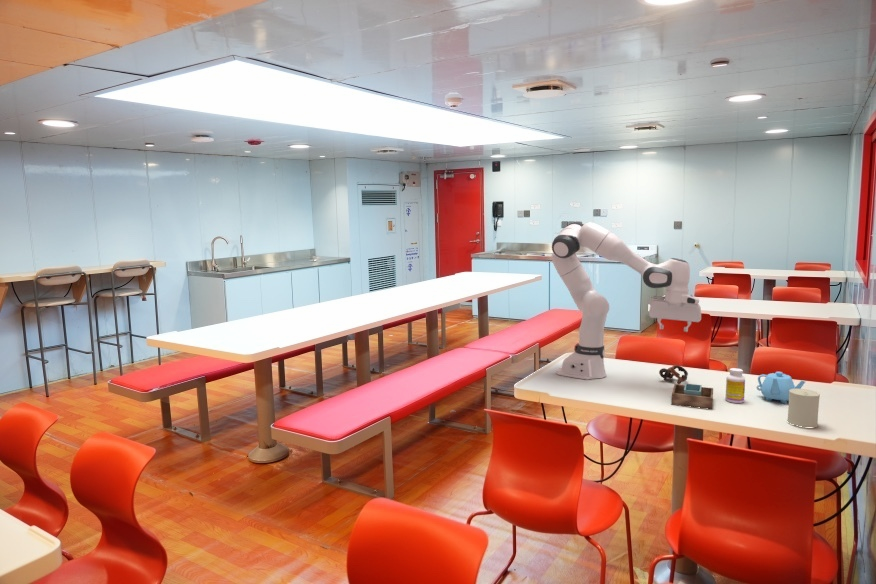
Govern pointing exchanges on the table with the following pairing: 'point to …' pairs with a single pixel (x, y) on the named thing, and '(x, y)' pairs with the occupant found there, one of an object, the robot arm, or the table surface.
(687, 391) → the tote
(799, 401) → the can
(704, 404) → the crate
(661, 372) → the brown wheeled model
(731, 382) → the supplement bottle
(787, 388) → the teapot
